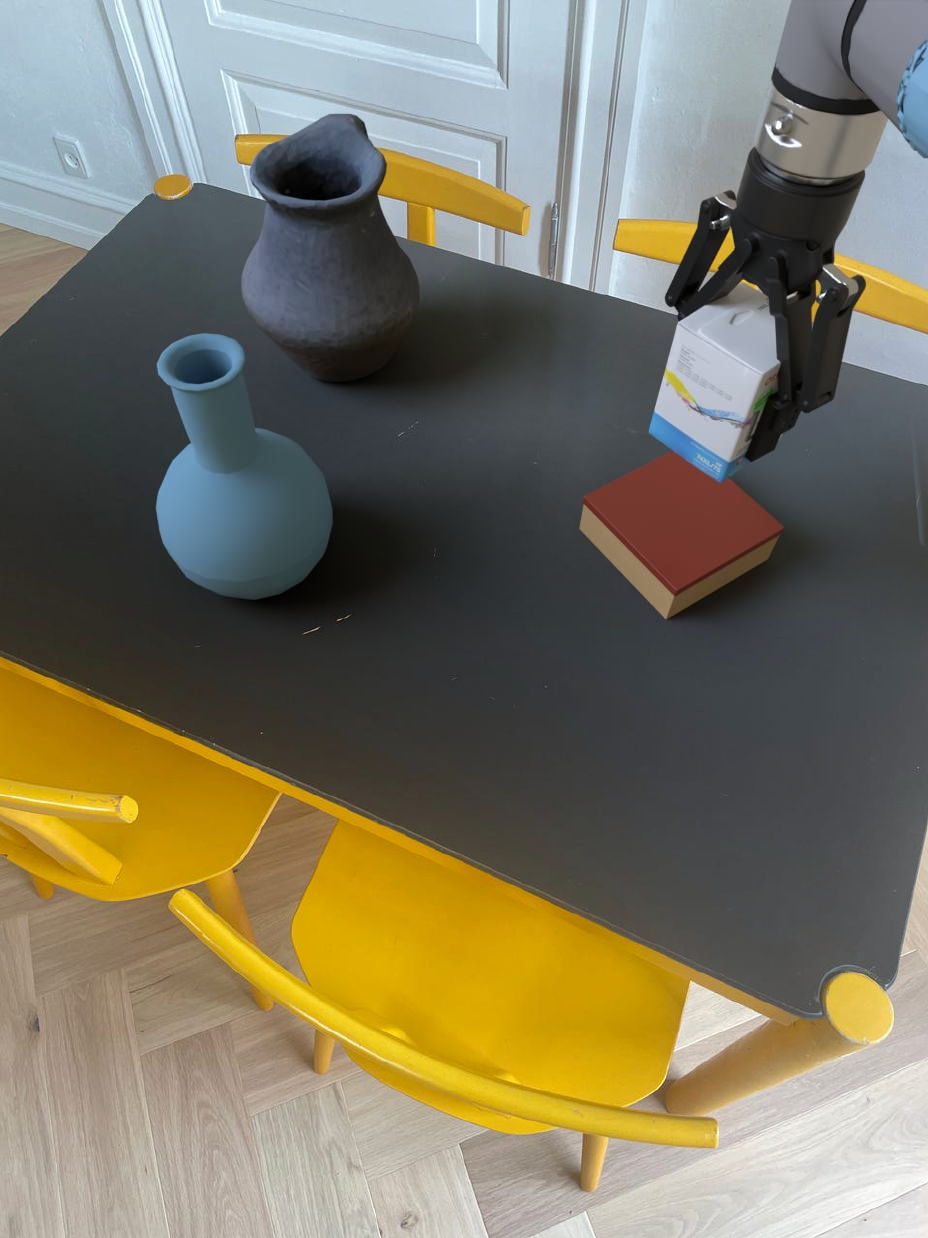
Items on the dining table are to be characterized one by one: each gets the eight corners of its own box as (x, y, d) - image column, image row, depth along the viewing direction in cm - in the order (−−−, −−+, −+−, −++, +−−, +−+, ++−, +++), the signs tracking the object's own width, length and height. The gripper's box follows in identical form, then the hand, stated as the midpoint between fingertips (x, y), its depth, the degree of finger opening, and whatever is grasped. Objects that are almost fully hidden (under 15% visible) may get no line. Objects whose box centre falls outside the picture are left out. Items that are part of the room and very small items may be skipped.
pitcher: (232, 395, 102) (176, 191, 82) (294, 288, 114) (259, 86, 94) (397, 424, 100) (383, 221, 79) (444, 311, 112) (441, 109, 91)
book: (769, 559, 89) (785, 527, 85) (665, 621, 84) (676, 590, 80) (678, 475, 96) (688, 442, 91) (577, 528, 91) (583, 496, 87)
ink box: (721, 486, 72) (762, 376, 63) (645, 432, 76) (673, 320, 66) (783, 439, 75) (831, 328, 66) (707, 390, 79) (743, 277, 69)
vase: (364, 518, 92) (337, 318, 71) (301, 641, 83) (250, 454, 62) (223, 482, 94) (159, 280, 74) (148, 598, 85) (51, 405, 65)
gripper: (654, 102, 59) (606, 365, 78) (902, 258, 49) (779, 517, 68) (734, 74, 62) (669, 336, 80) (986, 218, 51) (845, 479, 70)
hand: (719, 419), depth 74 cm, fingers closed on ink box, 9 cm apart
